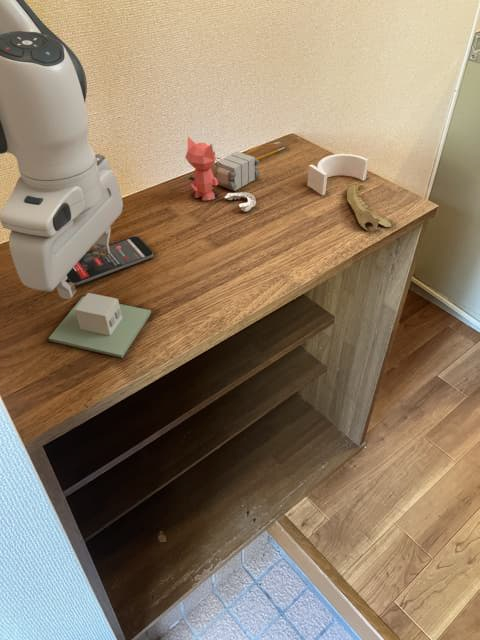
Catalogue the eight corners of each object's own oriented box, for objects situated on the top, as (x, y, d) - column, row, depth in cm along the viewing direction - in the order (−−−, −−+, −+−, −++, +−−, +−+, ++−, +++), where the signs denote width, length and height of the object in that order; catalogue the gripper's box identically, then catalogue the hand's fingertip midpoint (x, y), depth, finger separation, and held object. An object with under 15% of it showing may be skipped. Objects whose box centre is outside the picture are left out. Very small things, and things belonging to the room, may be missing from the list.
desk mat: (49, 340, 77) (48, 338, 77) (83, 298, 84) (82, 296, 84) (122, 358, 74) (121, 355, 74) (151, 313, 81) (151, 310, 81)
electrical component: (301, 133, 118) (299, 155, 121) (279, 127, 121) (279, 148, 124) (232, 170, 104) (233, 193, 108) (210, 162, 107) (211, 185, 111)
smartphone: (57, 262, 90) (136, 234, 96) (58, 265, 90) (137, 238, 96) (72, 284, 85) (154, 254, 91) (73, 287, 86) (155, 257, 92)
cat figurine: (227, 194, 108) (225, 138, 99) (206, 208, 104) (202, 151, 95) (201, 184, 111) (197, 129, 103) (179, 198, 107) (173, 141, 99)
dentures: (243, 187, 108) (243, 194, 108) (223, 194, 106) (223, 201, 106) (263, 200, 103) (263, 206, 104) (243, 207, 101) (243, 214, 102)
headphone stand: (324, 175, 104) (369, 159, 109) (305, 163, 108) (349, 148, 113) (322, 195, 107) (365, 179, 112) (304, 183, 111) (346, 168, 116)
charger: (80, 329, 78) (74, 309, 75) (93, 312, 81) (88, 292, 78) (112, 336, 77) (107, 316, 74) (124, 318, 80) (120, 299, 77)
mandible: (396, 226, 97) (385, 240, 99) (362, 182, 109) (353, 195, 111) (374, 216, 95) (363, 230, 96) (342, 172, 106) (333, 185, 108)
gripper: (83, 145, 71) (102, 230, 81) (-12, 224, 57) (24, 316, 66) (125, 151, 70) (139, 237, 79) (39, 234, 55) (68, 327, 65)
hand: (86, 274), depth 73 cm, fingers open, 8 cm apart
